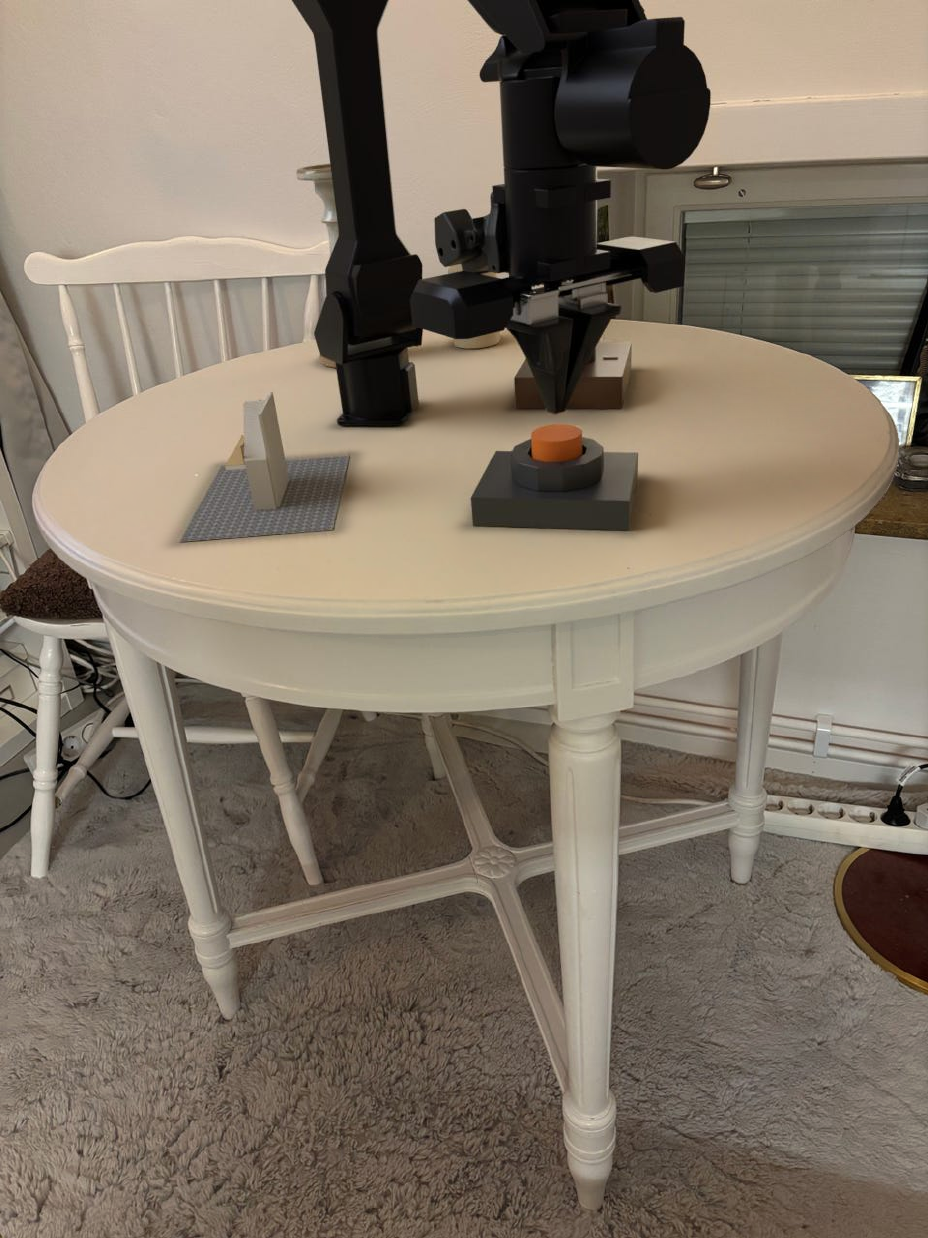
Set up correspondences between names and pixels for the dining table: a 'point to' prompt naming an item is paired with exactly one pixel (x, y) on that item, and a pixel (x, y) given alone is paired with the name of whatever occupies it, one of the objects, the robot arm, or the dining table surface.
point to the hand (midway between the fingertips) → (555, 411)
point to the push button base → (557, 490)
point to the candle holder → (325, 191)
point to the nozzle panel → (586, 381)
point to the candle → (481, 340)
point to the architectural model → (268, 486)
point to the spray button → (556, 443)
